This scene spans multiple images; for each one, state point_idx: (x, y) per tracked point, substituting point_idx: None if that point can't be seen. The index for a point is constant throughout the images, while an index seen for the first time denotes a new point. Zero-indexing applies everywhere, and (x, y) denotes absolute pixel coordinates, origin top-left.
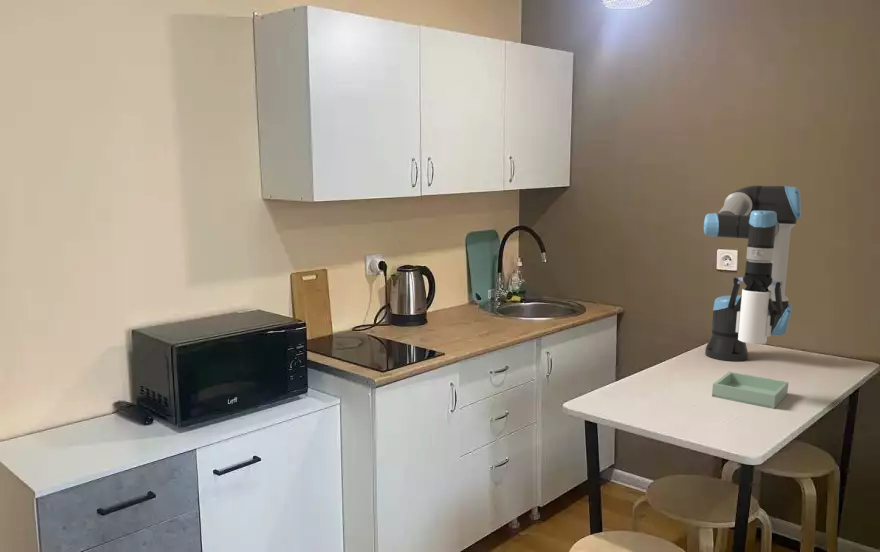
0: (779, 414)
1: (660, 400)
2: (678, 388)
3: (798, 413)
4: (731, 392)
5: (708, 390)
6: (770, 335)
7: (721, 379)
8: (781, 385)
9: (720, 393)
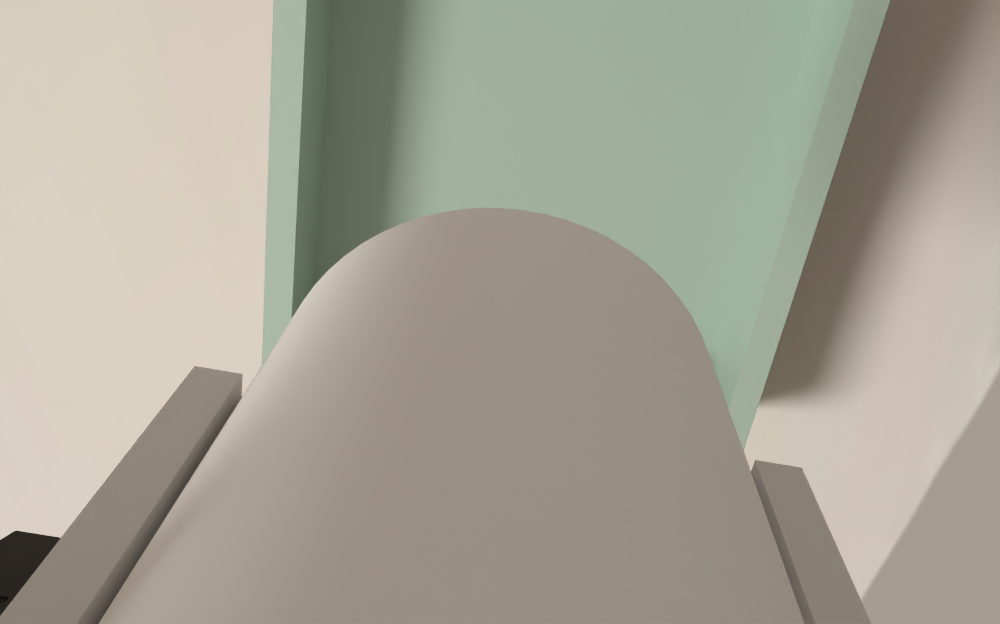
0: None
1: None
2: (24, 271)
3: (878, 426)
4: None
5: (226, 201)
6: (799, 478)
7: (286, 222)
8: (817, 129)
9: None
